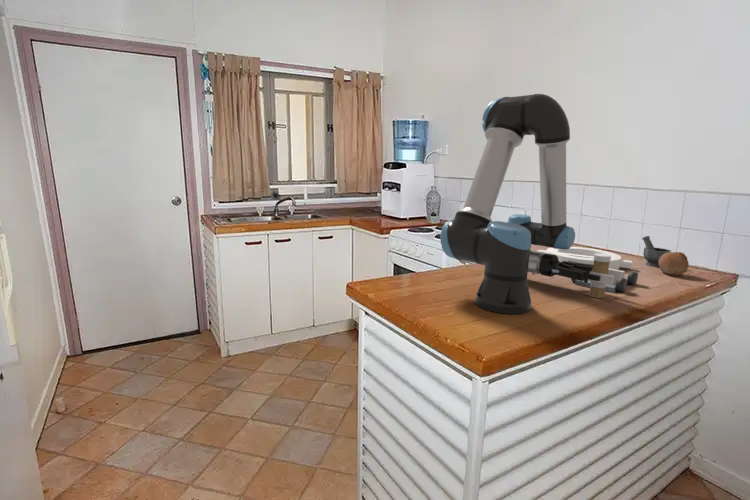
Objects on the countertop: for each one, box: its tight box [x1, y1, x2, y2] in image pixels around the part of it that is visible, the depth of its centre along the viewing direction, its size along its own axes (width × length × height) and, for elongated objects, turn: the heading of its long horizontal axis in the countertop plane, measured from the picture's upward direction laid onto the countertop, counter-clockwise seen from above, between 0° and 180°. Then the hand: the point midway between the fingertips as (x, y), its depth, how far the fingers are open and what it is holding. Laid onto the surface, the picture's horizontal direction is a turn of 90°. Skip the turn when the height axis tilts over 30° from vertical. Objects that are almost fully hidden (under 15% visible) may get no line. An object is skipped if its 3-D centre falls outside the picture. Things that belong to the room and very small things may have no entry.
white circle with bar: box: [536, 246, 633, 270], centre depth 175 cm, size 28×28×5 cm
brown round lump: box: [658, 251, 690, 277], centre depth 160 cm, size 10×9×10 cm
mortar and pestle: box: [641, 235, 672, 268], centre depth 175 cm, size 11×9×12 cm
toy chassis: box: [570, 264, 639, 293], centre depth 145 cm, size 20×16×4 cm
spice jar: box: [588, 253, 611, 299], centre depth 129 cm, size 5×5×13 cm
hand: (617, 278), depth 125 cm, fingers open, 7 cm apart
